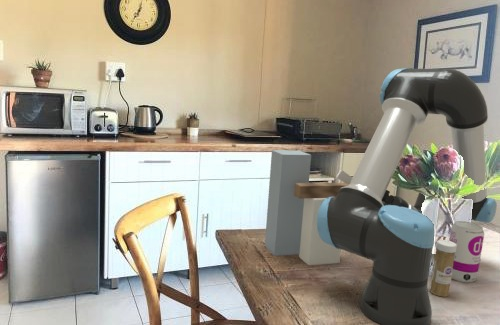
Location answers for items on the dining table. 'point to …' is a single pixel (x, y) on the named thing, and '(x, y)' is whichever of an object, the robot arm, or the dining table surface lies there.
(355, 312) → the dining table surface
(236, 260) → the dining table surface
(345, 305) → the dining table surface
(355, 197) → the robot arm
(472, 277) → the supplement can
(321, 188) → the walnut bar
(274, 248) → the step stand
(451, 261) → the sprinkles bottle
